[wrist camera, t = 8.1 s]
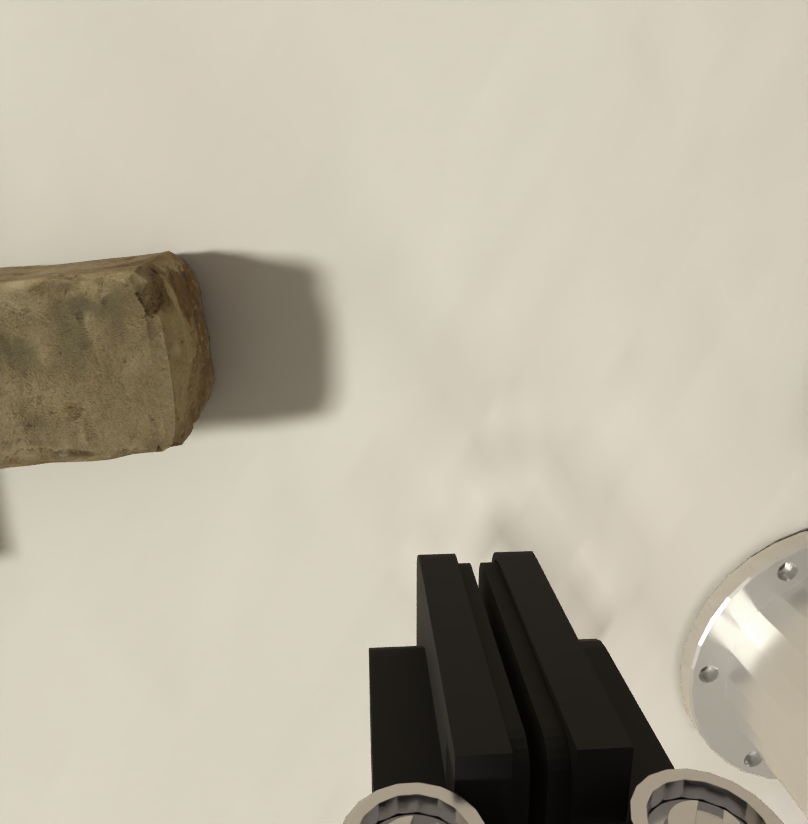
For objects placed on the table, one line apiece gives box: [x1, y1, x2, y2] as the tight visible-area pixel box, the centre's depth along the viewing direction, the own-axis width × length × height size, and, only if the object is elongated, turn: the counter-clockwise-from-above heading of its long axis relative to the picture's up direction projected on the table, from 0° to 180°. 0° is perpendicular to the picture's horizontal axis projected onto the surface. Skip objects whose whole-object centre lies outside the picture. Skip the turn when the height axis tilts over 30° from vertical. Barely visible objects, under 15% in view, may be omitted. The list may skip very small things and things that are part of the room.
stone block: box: [0, 251, 214, 469], centre depth 22 cm, size 6×12×5 cm, turn 96°
